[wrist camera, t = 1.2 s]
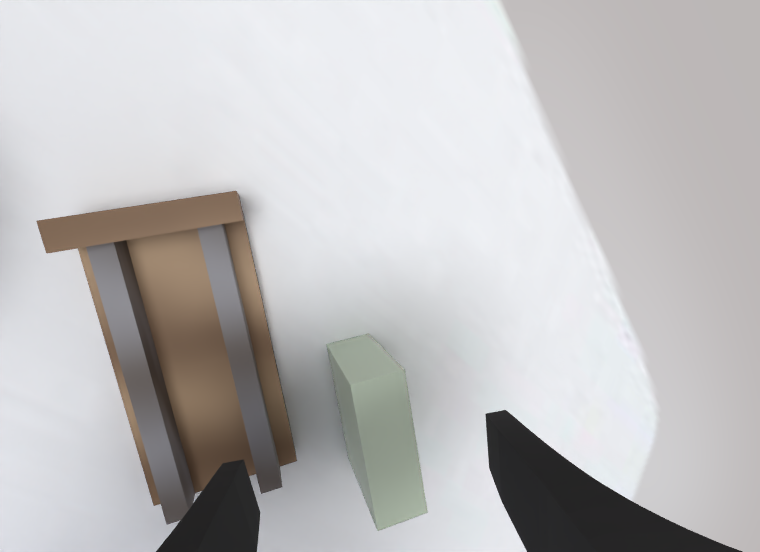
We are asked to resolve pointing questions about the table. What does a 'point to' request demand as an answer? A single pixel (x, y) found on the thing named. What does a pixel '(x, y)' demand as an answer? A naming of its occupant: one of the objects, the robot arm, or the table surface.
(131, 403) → the track sill
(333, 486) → the table surface
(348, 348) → the door panel
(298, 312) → the table surface
